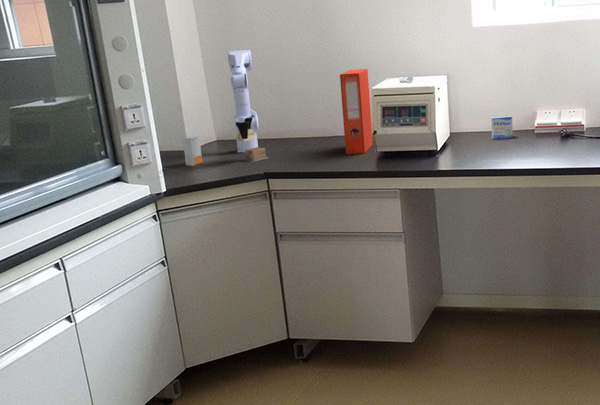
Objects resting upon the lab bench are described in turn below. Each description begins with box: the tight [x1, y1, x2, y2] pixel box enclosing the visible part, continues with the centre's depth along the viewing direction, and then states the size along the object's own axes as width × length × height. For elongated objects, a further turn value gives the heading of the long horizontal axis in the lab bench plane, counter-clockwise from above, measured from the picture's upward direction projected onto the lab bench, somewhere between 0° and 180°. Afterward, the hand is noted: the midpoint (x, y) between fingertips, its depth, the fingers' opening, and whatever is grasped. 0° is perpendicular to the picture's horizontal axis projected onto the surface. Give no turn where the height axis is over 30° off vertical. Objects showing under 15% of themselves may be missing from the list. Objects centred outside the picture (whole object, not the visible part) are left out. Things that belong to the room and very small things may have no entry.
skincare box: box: [182, 135, 203, 167], centre depth 323 cm, size 6×4×12 cm
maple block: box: [236, 129, 254, 141], centre depth 319 cm, size 5×5×4 cm
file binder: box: [339, 68, 374, 155], centre depth 317 cm, size 8×17×32 cm, turn 164°
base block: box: [245, 146, 267, 162], centre depth 320 cm, size 6×6×4 cm
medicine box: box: [490, 115, 514, 140], centre depth 313 cm, size 8×4×9 cm, turn 81°
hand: (246, 137), depth 319 cm, fingers closed on maple block, 7 cm apart
